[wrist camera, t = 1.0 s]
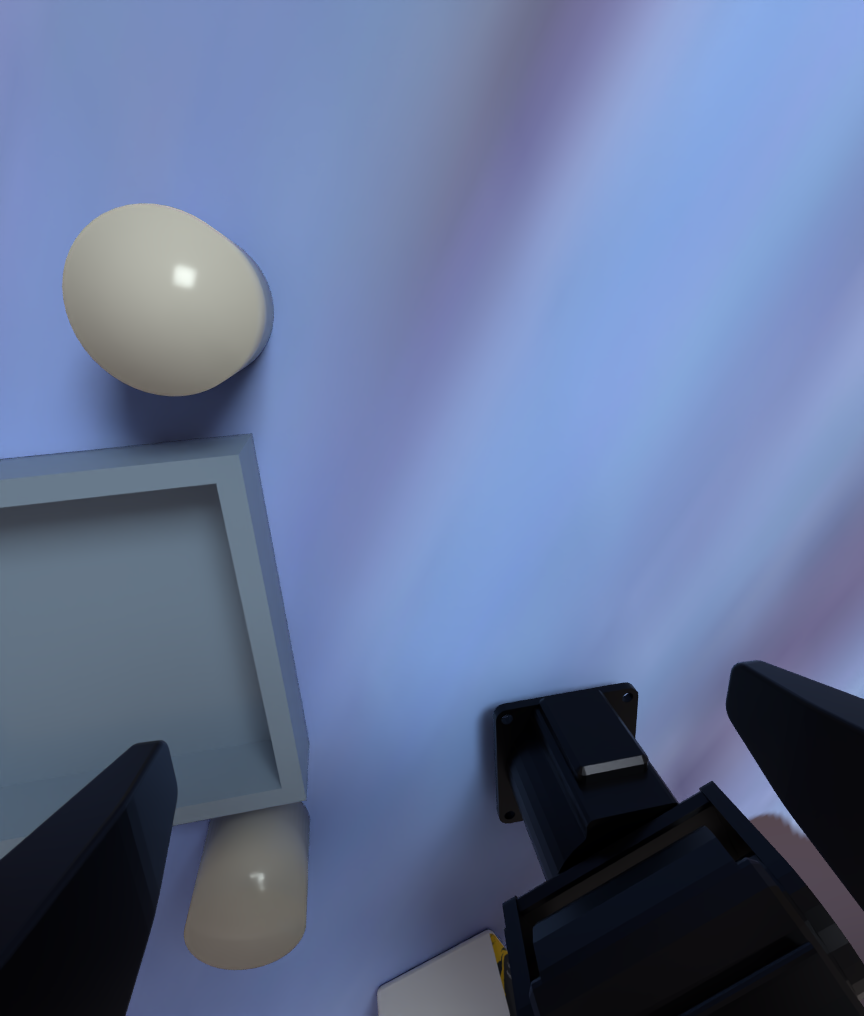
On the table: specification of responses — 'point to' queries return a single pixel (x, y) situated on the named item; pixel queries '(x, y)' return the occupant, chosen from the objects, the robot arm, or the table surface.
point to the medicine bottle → (454, 983)
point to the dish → (144, 630)
